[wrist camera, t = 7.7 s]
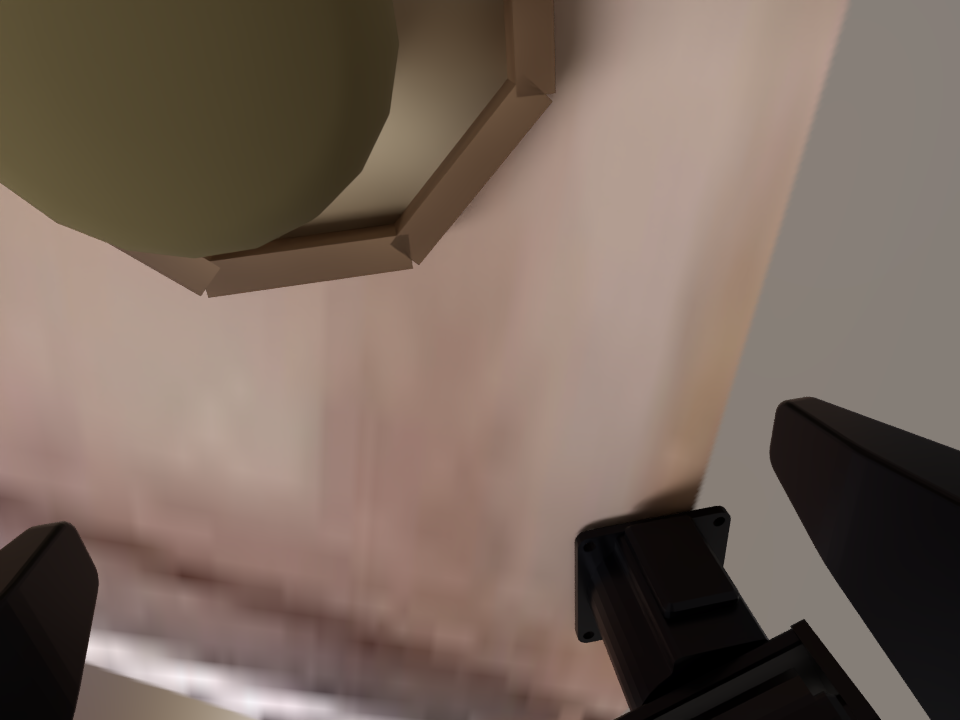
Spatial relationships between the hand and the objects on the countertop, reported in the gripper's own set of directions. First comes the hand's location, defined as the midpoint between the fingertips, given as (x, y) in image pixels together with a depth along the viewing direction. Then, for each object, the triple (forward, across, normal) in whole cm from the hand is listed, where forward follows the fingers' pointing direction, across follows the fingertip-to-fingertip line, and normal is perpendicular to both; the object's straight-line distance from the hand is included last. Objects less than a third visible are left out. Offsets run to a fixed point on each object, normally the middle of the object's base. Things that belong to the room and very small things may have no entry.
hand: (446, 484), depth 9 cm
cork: (+12, +2, -6) cm, 13 cm away
